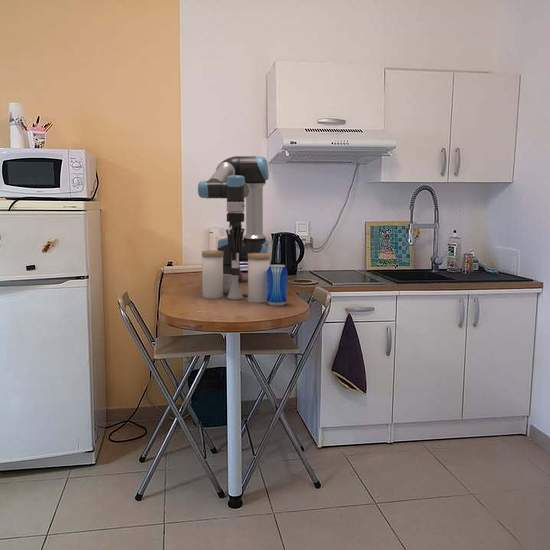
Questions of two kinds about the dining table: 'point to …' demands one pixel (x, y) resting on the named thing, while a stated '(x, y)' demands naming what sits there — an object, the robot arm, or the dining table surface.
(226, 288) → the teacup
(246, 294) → the kettle cord
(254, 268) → the canister right
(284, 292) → the beer can
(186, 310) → the dining table surface
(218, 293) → the canister left
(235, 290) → the flask
